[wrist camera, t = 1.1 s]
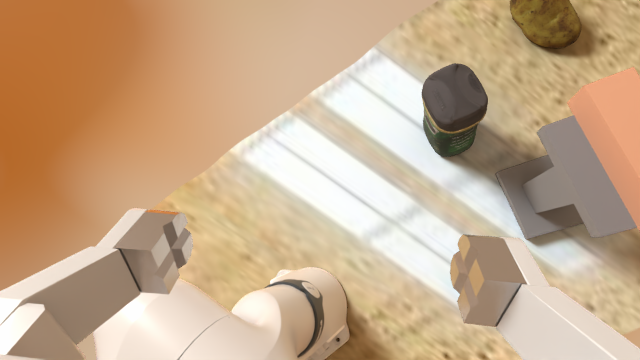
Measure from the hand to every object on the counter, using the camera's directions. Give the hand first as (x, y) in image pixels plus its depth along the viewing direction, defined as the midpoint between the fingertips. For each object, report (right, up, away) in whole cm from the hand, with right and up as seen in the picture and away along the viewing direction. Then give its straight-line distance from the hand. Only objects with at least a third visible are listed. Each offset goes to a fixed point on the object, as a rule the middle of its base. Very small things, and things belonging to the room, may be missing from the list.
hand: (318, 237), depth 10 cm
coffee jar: (+25, +11, +53) cm, 59 cm away
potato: (+41, +30, +51) cm, 72 cm away
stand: (+38, -1, +46) cm, 59 cm away
